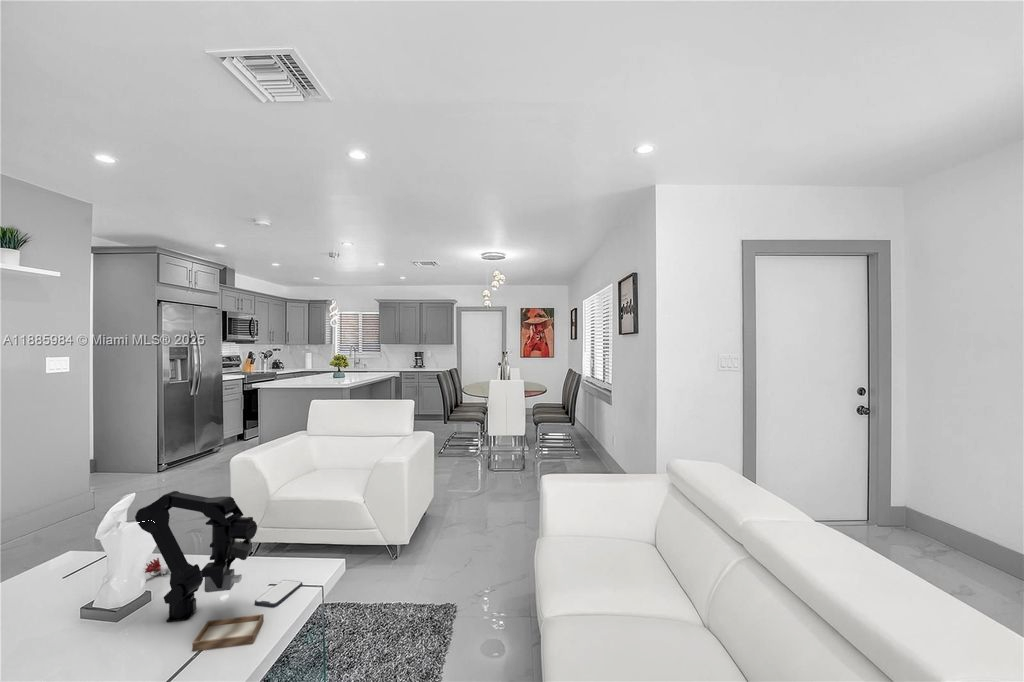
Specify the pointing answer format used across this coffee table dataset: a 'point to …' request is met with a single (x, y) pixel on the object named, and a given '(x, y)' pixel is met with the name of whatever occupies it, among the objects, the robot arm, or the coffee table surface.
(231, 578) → the plug
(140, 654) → the coffee table surface
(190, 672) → the coffee table surface
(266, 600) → the phone case
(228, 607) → the coffee table surface
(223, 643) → the tray
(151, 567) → the figurine
